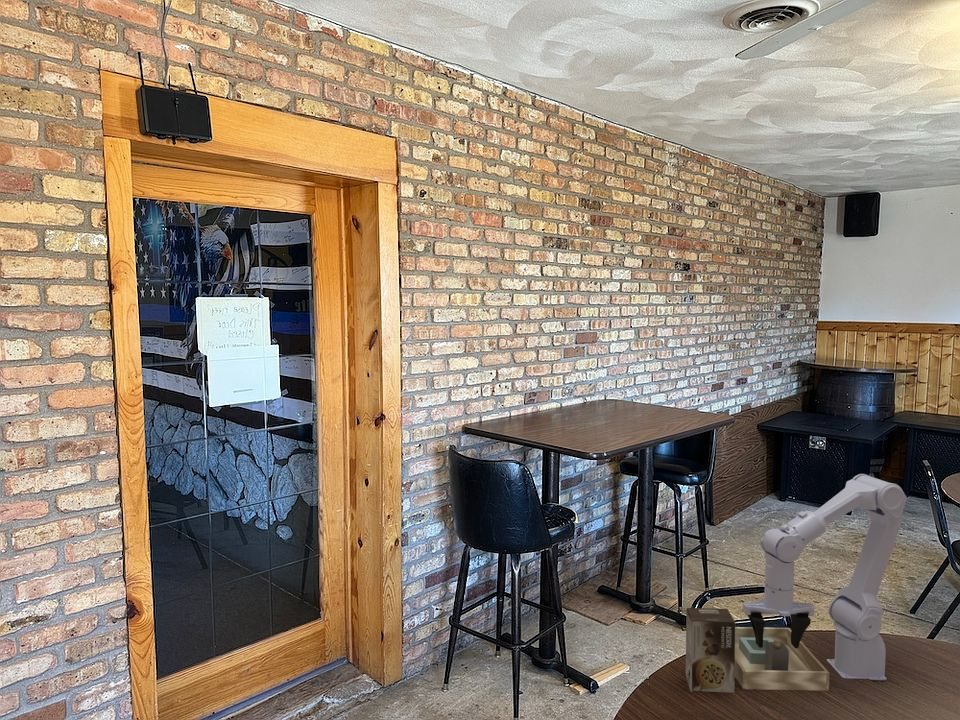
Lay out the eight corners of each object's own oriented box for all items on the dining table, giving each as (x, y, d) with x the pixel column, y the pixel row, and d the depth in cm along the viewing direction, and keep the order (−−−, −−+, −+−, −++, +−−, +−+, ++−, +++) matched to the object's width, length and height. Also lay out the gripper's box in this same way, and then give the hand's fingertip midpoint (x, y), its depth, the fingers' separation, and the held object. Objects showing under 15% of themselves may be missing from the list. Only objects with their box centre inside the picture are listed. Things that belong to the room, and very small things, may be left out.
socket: (770, 647, 159) (770, 637, 159) (783, 664, 152) (783, 653, 152) (738, 647, 160) (739, 637, 159) (750, 663, 152) (750, 653, 152)
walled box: (788, 645, 161) (789, 627, 161) (828, 693, 141) (829, 672, 141) (713, 644, 162) (713, 626, 162) (742, 691, 142) (743, 671, 142)
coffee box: (726, 679, 147) (728, 608, 146) (734, 695, 141) (736, 621, 139) (684, 676, 148) (685, 606, 147) (690, 693, 142) (692, 620, 140)
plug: (781, 672, 148) (782, 637, 148) (787, 681, 145) (789, 646, 144) (764, 672, 149) (765, 637, 148) (771, 681, 145) (772, 645, 144)
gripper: (752, 592, 141) (750, 654, 142) (821, 593, 141) (819, 655, 142) (740, 579, 148) (738, 638, 149) (806, 580, 148) (804, 639, 149)
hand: (776, 645), depth 146 cm, fingers open, 7 cm apart
